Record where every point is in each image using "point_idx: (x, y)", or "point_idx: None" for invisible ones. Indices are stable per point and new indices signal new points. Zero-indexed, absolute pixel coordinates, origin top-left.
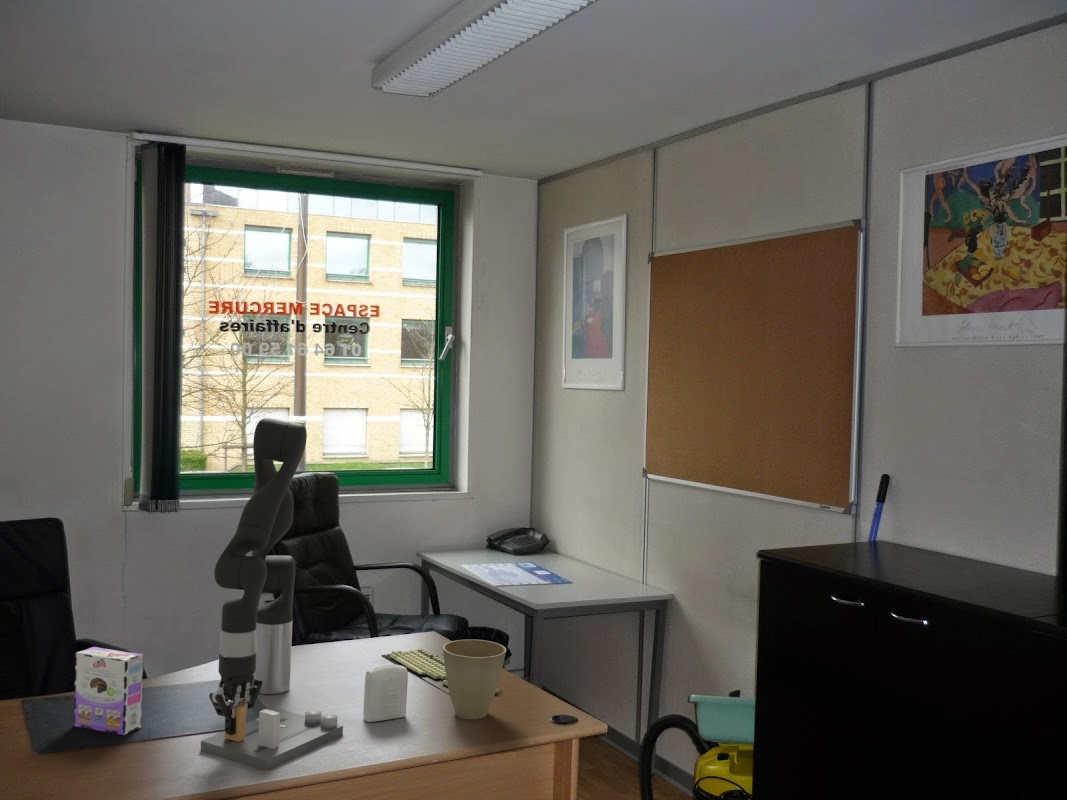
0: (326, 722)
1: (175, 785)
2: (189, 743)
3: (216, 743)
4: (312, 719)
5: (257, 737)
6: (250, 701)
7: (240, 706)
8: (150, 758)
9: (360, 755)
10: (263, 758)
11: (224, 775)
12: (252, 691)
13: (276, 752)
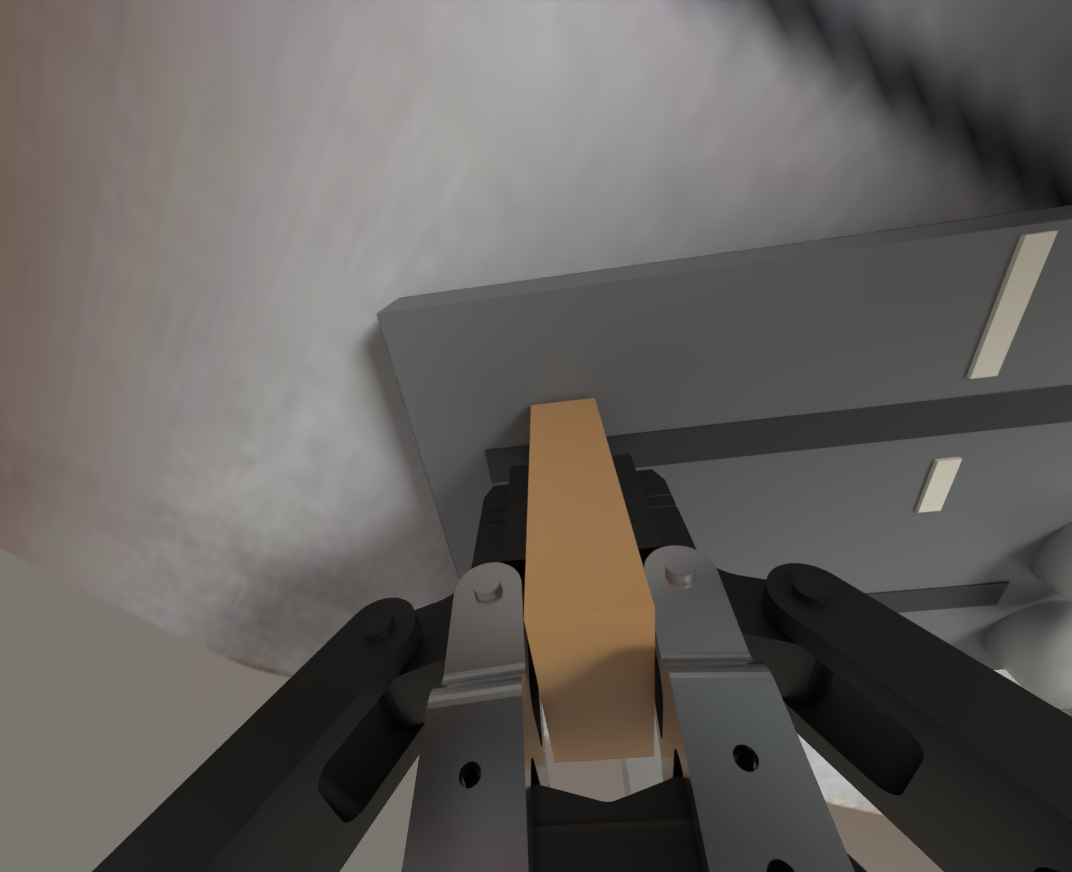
0: (1016, 677)
1: (120, 565)
2: (400, 90)
3: (439, 433)
4: (1067, 596)
5: (683, 520)
6: (802, 728)
7: (609, 733)
8: (19, 151)
9: (811, 747)
10: None
11: (346, 610)
12: (982, 862)
13: None
